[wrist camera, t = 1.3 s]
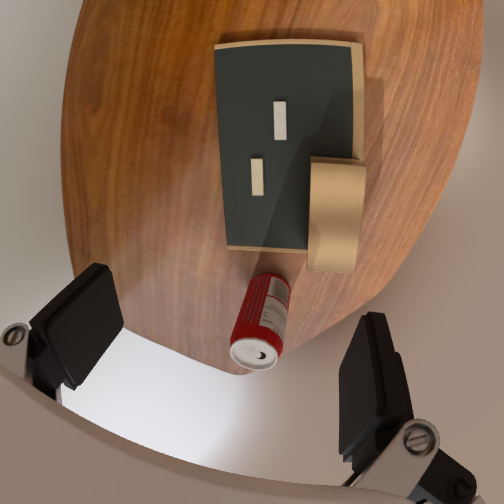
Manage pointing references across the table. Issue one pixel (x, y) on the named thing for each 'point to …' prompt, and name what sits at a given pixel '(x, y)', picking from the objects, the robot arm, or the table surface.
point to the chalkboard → (298, 131)
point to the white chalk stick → (280, 121)
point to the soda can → (261, 323)
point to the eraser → (335, 213)
